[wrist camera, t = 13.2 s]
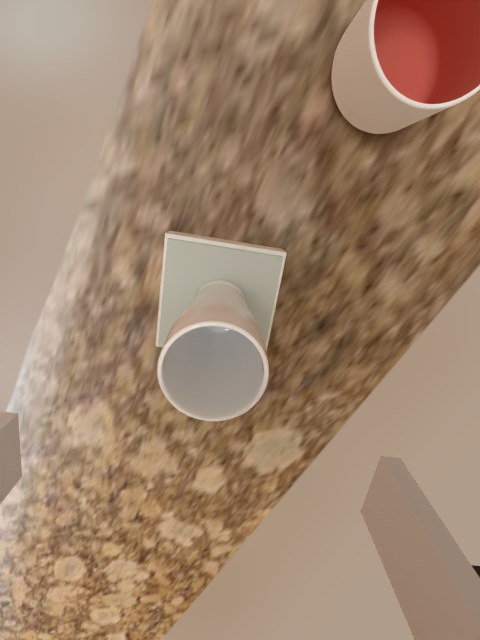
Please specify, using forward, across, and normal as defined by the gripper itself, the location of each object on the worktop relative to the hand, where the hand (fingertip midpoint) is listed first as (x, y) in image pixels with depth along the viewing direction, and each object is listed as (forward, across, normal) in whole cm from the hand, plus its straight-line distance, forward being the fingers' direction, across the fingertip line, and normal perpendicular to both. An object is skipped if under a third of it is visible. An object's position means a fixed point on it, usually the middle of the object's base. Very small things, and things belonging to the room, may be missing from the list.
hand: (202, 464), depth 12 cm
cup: (+27, +12, +22) cm, 37 cm away
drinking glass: (+23, 0, -1) cm, 23 cm away
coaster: (+27, 0, 0) cm, 27 cm away
